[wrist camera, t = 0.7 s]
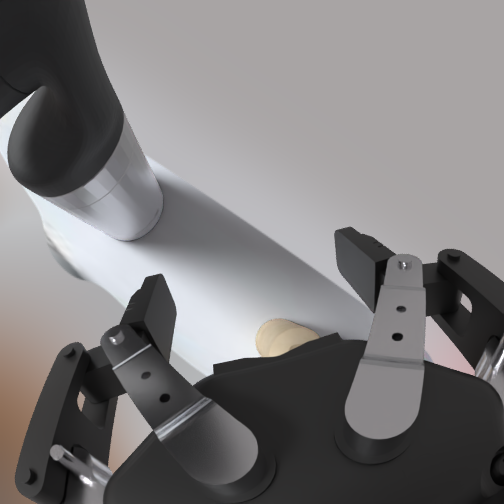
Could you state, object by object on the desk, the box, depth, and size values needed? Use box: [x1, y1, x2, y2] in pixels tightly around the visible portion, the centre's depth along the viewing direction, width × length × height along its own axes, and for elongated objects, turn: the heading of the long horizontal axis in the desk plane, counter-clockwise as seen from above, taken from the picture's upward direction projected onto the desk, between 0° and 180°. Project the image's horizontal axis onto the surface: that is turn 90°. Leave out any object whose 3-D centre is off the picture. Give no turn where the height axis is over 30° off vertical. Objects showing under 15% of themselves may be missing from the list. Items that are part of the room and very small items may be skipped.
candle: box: [256, 319, 320, 357], centre depth 27 cm, size 6×6×10 cm
